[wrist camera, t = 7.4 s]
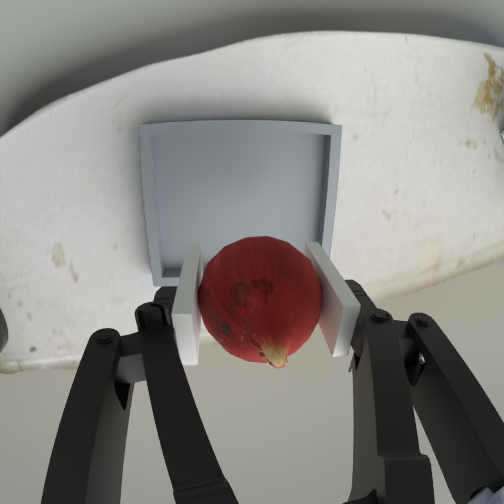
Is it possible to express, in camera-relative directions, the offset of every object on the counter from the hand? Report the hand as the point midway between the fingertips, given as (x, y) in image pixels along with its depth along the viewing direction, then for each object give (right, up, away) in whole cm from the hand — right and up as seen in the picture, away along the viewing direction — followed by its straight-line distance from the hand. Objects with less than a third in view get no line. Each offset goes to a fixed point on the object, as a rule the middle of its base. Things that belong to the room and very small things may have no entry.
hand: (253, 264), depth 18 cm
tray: (-1, +6, +12) cm, 14 cm away
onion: (0, 0, 0) cm, 0 cm away
